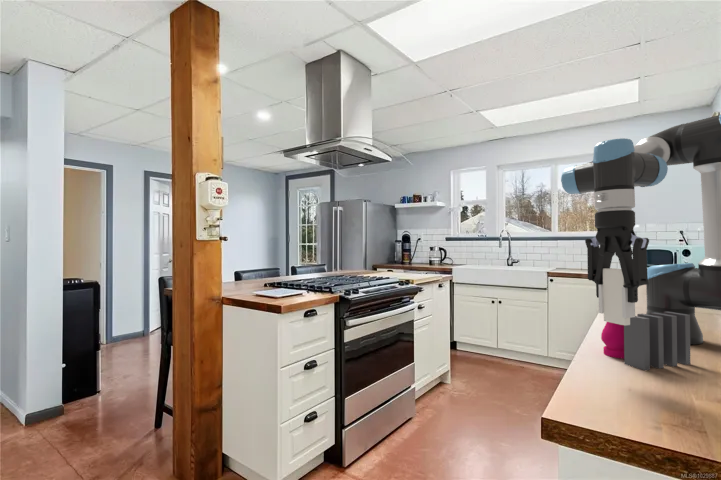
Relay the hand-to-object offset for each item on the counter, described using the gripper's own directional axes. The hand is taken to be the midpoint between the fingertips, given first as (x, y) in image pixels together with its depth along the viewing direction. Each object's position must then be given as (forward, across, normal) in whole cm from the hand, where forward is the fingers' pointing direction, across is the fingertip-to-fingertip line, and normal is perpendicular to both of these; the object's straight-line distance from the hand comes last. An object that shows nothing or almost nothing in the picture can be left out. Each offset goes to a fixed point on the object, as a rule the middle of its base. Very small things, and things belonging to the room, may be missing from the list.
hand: (616, 314), depth 85 cm
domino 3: (+14, -4, +20) cm, 24 cm away
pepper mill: (+14, -12, +15) cm, 24 cm away
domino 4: (+14, -4, +24) cm, 28 cm away
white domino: (+2, 0, 0) cm, 2 cm away
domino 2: (+14, -4, +15) cm, 21 cm away
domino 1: (+14, -4, +10) cm, 18 cm away
